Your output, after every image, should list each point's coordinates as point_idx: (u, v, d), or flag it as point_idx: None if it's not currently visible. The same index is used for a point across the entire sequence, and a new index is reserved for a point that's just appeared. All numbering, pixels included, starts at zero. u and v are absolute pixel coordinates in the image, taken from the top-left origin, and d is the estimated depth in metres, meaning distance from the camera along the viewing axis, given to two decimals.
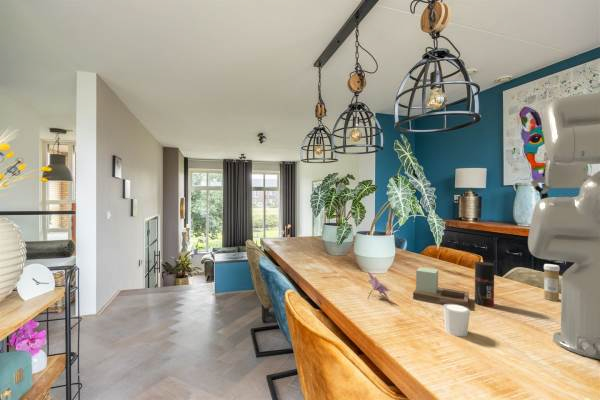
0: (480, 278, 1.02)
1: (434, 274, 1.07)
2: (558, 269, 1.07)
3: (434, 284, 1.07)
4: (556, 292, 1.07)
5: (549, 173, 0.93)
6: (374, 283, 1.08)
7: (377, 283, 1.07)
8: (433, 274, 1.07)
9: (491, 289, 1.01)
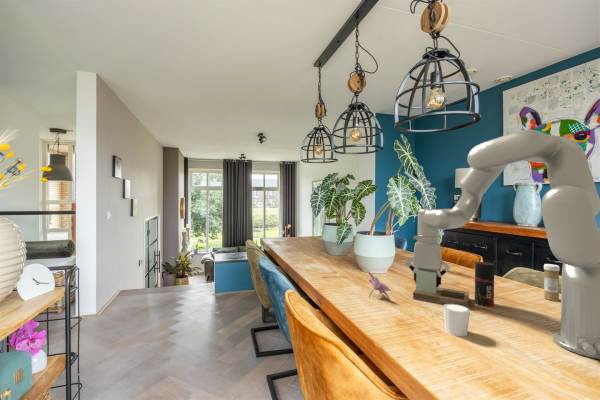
0: (480, 278, 1.02)
1: (434, 274, 1.07)
2: (558, 269, 1.07)
3: (434, 284, 1.07)
4: (556, 292, 1.07)
5: (414, 255, 1.11)
6: (375, 283, 1.09)
7: (378, 283, 1.07)
8: (433, 274, 1.07)
9: (491, 289, 1.01)
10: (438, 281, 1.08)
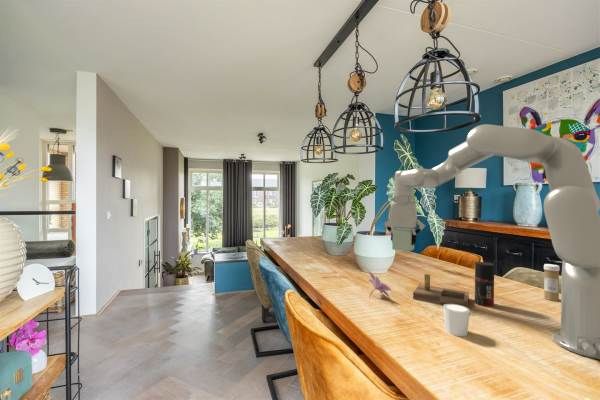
0: (480, 278, 1.02)
1: (409, 232, 1.11)
2: (558, 269, 1.07)
3: (409, 241, 1.11)
4: (556, 292, 1.07)
5: (391, 215, 1.16)
6: (375, 282, 1.09)
7: (378, 282, 1.08)
8: (408, 232, 1.11)
9: (491, 289, 1.01)
10: (413, 239, 1.12)
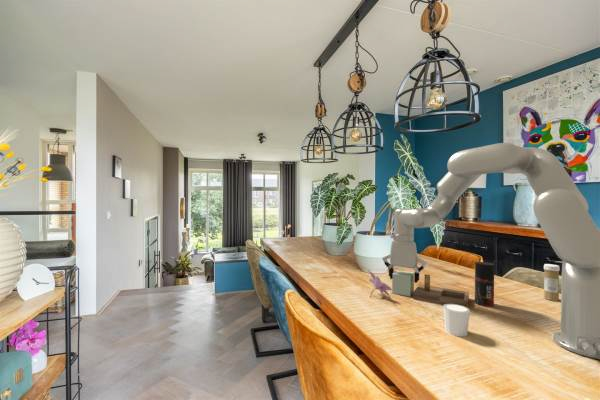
0: (480, 278, 1.02)
1: (409, 277, 1.11)
2: (558, 269, 1.07)
3: (409, 287, 1.11)
4: (556, 292, 1.07)
5: (391, 253, 1.15)
6: (376, 282, 1.10)
7: (379, 282, 1.08)
8: (408, 277, 1.11)
9: (491, 289, 1.01)
10: (416, 277, 1.11)
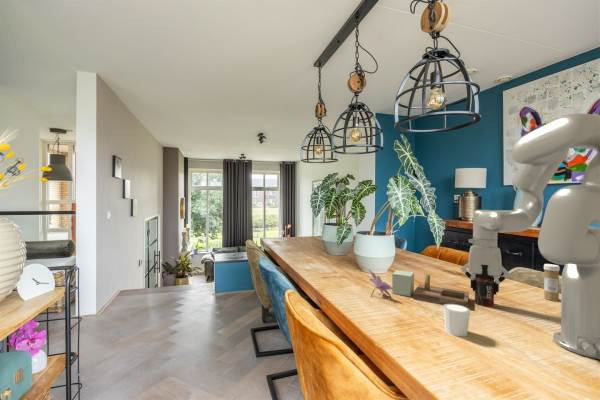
0: (480, 278, 1.02)
1: (409, 277, 1.11)
2: (558, 269, 1.07)
3: (409, 287, 1.11)
4: (556, 292, 1.07)
5: (470, 260, 1.04)
6: (377, 282, 1.10)
7: (380, 281, 1.09)
8: (408, 277, 1.11)
9: (491, 289, 1.01)
10: (496, 288, 1.00)
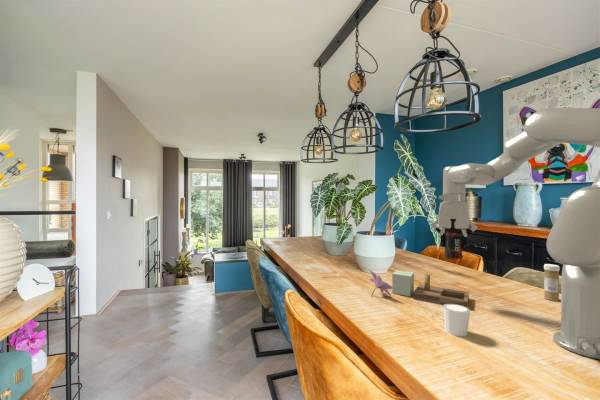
0: (449, 232, 1.05)
1: (409, 277, 1.11)
2: (558, 269, 1.07)
3: (409, 287, 1.11)
4: (556, 292, 1.07)
5: (440, 215, 1.07)
6: (377, 281, 1.11)
7: (380, 281, 1.09)
8: (408, 277, 1.11)
9: (459, 242, 1.04)
10: (464, 241, 1.03)
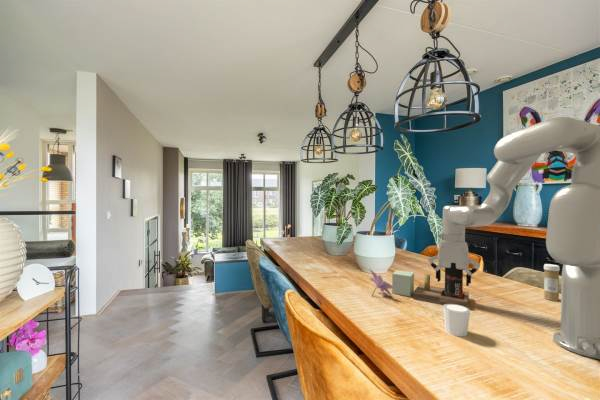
0: (449, 276, 1.05)
1: (409, 277, 1.11)
2: (558, 269, 1.07)
3: (409, 287, 1.11)
4: (556, 292, 1.07)
5: (439, 254, 1.07)
6: (377, 281, 1.11)
7: (381, 281, 1.10)
8: (408, 277, 1.11)
9: (459, 286, 1.03)
10: (468, 280, 1.03)
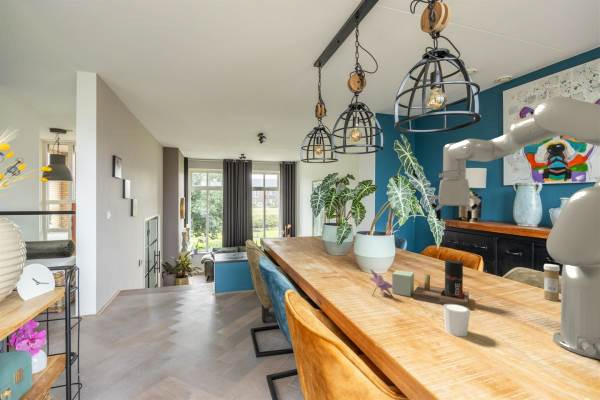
0: (449, 276, 1.05)
1: (409, 277, 1.11)
2: (558, 269, 1.07)
3: (409, 287, 1.11)
4: (556, 292, 1.07)
5: (440, 192, 1.07)
6: (378, 281, 1.12)
7: (381, 280, 1.10)
8: (408, 277, 1.11)
9: (459, 286, 1.03)
10: (469, 216, 1.03)
